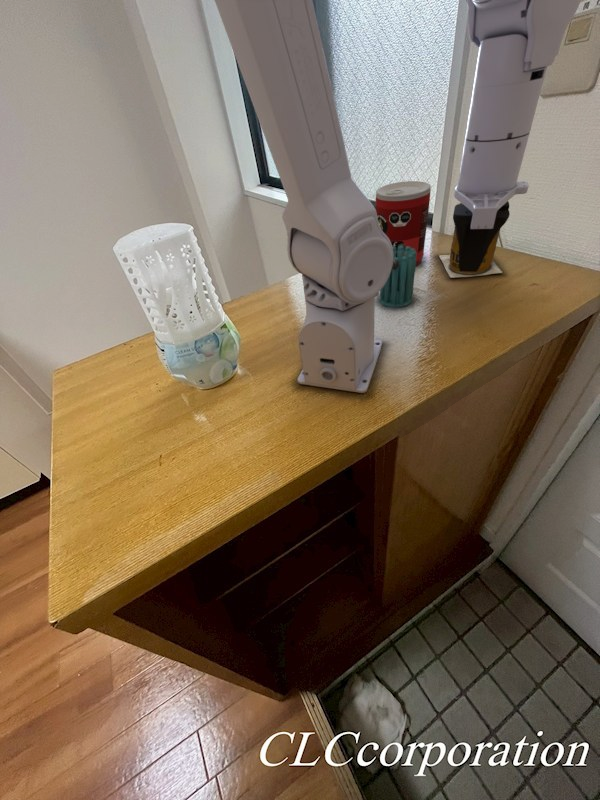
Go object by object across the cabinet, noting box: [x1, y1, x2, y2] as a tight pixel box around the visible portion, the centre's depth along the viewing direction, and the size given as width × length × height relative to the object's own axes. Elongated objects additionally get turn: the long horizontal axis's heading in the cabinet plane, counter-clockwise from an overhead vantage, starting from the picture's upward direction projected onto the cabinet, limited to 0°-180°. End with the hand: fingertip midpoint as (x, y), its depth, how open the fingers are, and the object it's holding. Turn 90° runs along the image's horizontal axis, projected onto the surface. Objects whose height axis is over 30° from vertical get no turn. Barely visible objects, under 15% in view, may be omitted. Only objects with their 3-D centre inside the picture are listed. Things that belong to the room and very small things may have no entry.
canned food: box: [374, 180, 432, 266], centre depth 55 cm, size 8×8×11 cm
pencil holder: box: [379, 244, 417, 308], centre depth 47 cm, size 7×6×5 cm
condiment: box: [438, 202, 503, 279], centre depth 50 cm, size 7×8×12 cm
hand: (468, 269), depth 43 cm, fingers closed
